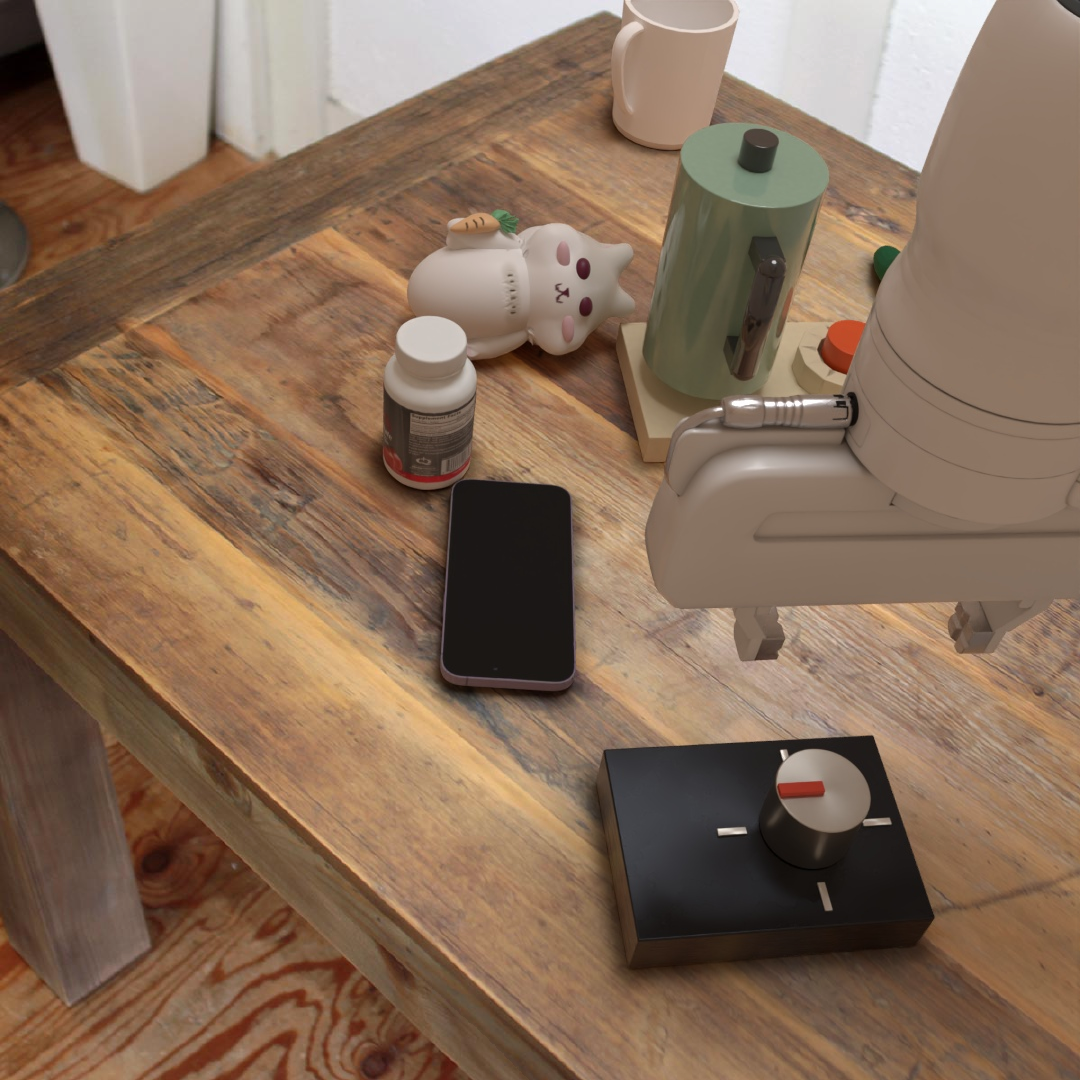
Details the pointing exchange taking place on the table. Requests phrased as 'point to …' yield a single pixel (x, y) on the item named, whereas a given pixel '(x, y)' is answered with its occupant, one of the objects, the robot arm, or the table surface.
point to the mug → (669, 67)
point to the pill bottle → (429, 404)
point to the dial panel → (747, 859)
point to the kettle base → (667, 406)
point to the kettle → (731, 257)
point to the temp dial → (814, 808)
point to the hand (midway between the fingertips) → (862, 644)
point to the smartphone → (509, 587)
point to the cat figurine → (521, 284)
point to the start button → (841, 344)
